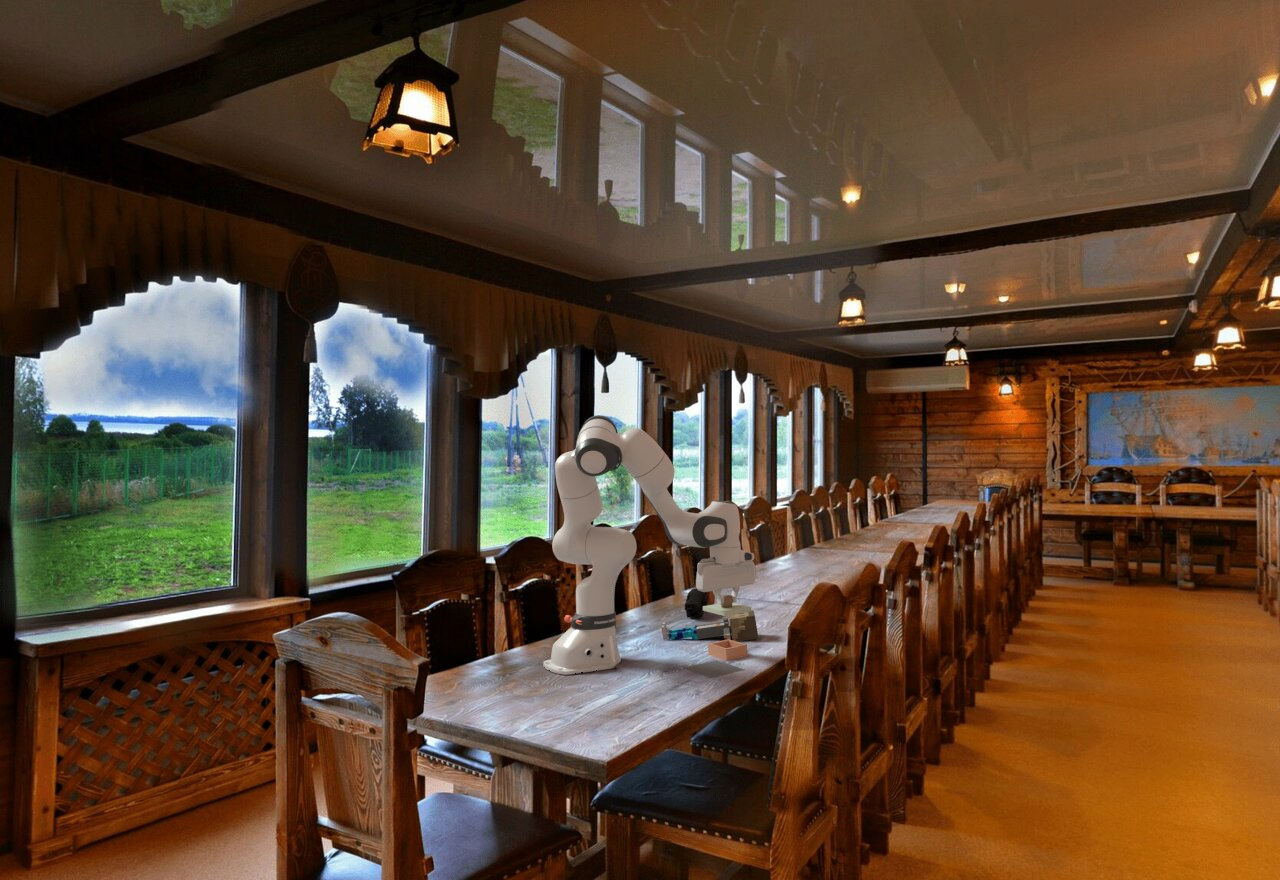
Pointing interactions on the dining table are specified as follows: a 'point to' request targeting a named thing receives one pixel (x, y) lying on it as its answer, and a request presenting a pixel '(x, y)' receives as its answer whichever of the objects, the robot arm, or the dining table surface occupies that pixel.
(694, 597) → the tool
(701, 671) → the mat
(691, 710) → the dining table surface
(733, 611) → the lid
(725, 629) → the toy
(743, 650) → the orange square open box
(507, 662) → the dining table surface
